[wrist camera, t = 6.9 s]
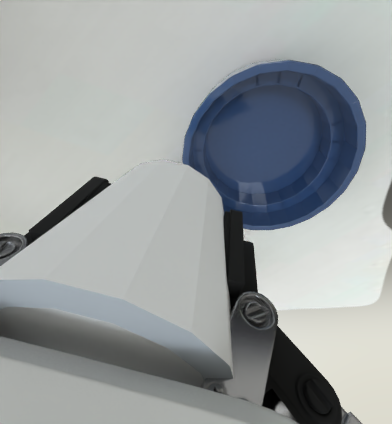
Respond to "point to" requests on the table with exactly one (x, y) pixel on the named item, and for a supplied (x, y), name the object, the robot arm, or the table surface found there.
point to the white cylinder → (130, 279)
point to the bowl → (277, 141)
